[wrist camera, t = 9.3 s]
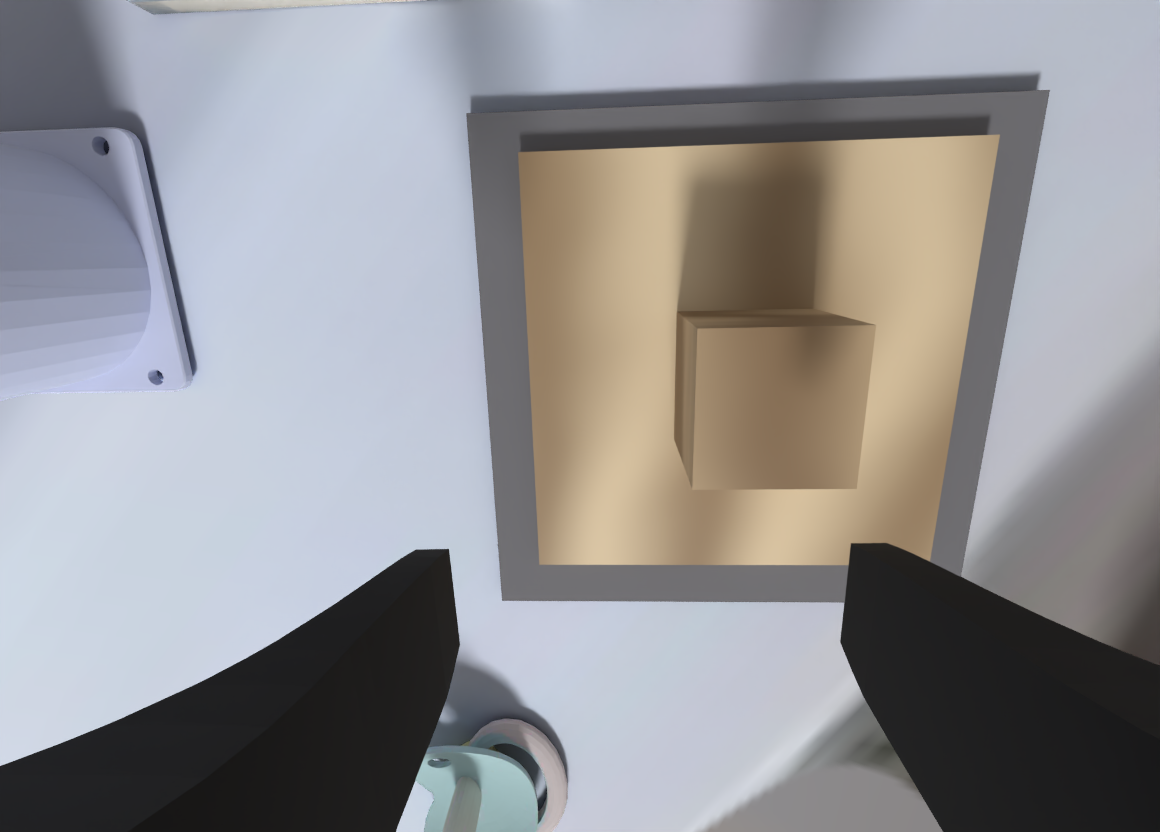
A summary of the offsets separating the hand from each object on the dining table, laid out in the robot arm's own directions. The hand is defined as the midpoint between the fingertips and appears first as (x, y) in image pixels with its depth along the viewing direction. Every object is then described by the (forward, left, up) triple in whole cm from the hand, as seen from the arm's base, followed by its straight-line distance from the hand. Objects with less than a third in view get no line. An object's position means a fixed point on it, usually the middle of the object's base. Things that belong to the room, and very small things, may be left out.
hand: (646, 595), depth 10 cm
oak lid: (+3, +2, -9) cm, 10 cm away
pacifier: (-5, -15, -10) cm, 19 cm away
